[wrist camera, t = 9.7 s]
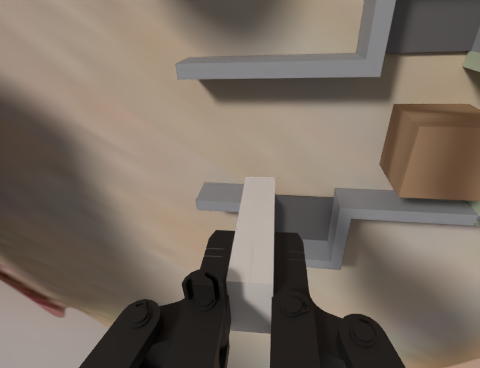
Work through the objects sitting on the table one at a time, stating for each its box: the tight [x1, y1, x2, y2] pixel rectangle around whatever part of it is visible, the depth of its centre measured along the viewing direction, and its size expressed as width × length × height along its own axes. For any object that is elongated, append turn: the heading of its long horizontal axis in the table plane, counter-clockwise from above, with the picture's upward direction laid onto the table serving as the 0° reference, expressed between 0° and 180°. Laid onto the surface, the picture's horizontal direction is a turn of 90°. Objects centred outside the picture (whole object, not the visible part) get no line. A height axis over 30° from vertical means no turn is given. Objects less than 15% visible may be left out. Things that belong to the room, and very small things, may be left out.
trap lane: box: [176, 0, 480, 270], centre depth 21 cm, size 23×24×3 cm
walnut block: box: [379, 104, 480, 201], centre depth 20 cm, size 5×5×5 cm
